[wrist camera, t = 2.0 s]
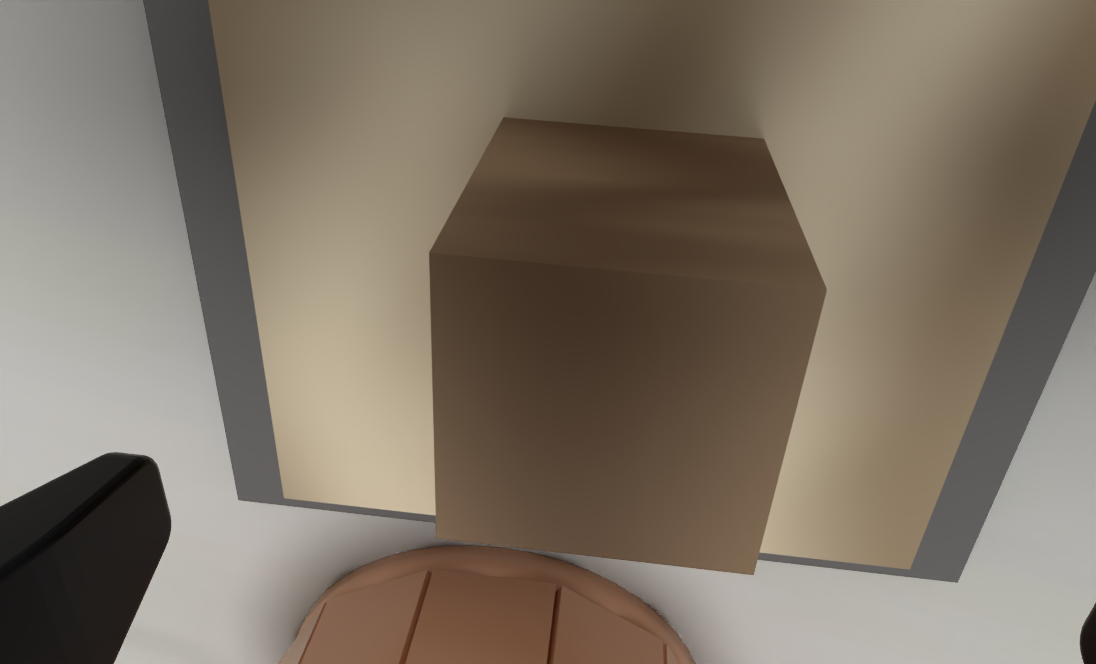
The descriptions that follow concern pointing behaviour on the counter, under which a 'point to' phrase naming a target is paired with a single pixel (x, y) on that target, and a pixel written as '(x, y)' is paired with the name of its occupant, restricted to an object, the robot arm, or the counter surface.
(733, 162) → the lid
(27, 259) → the counter surface
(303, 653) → the bowl
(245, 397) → the mat
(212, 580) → the counter surface
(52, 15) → the counter surface
